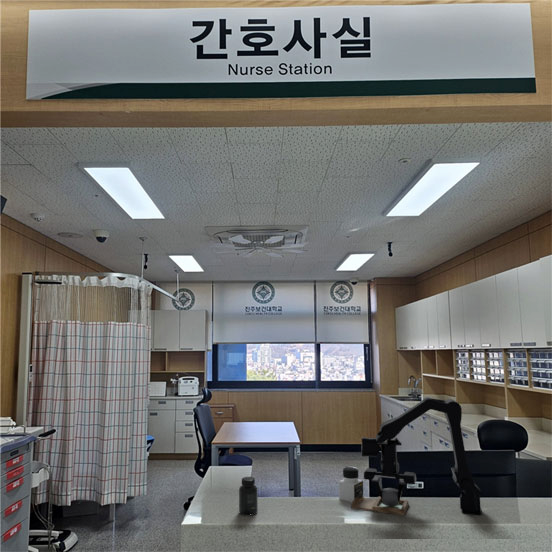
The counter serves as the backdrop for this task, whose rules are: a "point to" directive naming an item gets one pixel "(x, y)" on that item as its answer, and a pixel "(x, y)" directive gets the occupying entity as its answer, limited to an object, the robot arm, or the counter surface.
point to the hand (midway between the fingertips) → (390, 499)
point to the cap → (390, 497)
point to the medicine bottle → (350, 485)
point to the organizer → (379, 505)
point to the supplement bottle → (248, 496)
